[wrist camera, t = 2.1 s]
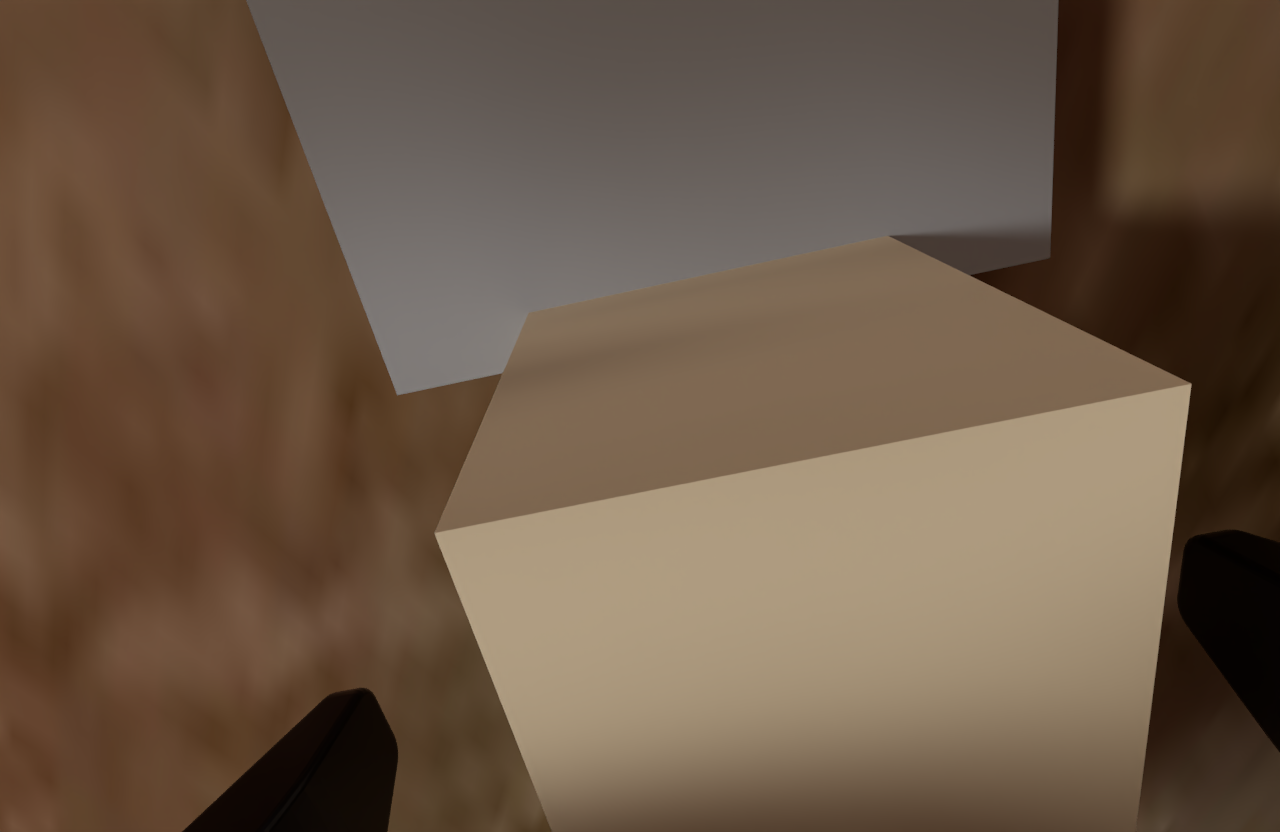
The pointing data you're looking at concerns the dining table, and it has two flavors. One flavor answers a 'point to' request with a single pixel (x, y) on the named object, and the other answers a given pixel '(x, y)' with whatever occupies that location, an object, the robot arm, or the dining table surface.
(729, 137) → the two-tone stacked block
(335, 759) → the robot arm
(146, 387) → the dining table surface
